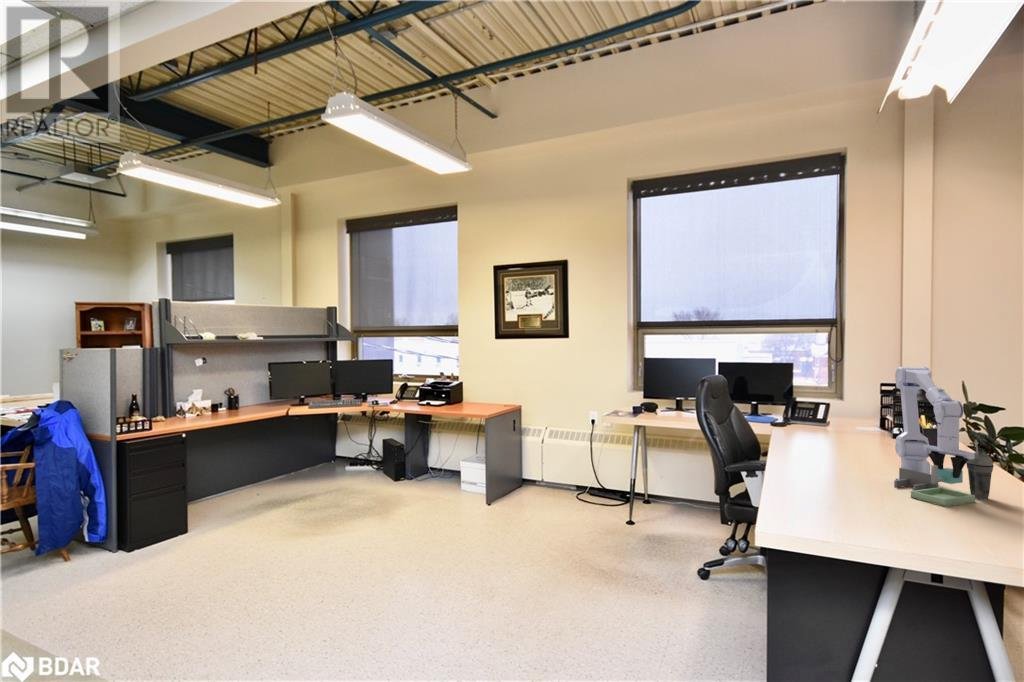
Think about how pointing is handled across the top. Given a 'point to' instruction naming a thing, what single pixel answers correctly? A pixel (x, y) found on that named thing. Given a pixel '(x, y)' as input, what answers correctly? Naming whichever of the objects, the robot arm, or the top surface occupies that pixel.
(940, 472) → the cyan and grey piece
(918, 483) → the rack
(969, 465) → the beverage cup
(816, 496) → the top surface
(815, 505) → the top surface
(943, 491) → the tray
